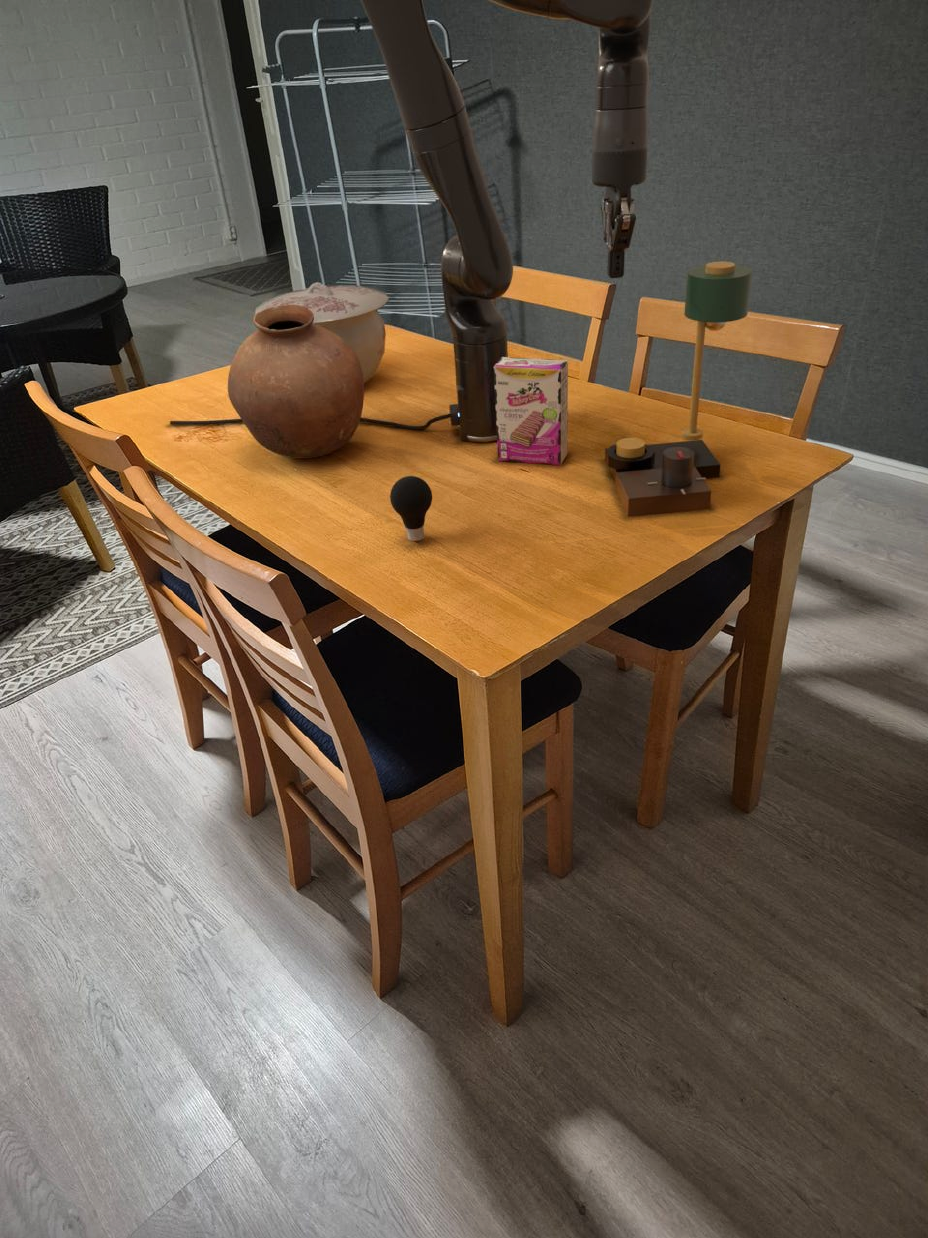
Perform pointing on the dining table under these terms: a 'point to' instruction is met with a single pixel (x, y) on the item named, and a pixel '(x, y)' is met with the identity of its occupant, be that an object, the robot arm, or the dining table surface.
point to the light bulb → (412, 504)
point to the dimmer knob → (677, 467)
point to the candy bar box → (531, 410)
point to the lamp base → (654, 459)
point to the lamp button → (630, 448)
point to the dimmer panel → (660, 493)
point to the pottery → (296, 384)
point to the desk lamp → (713, 314)
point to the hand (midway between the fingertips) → (615, 276)
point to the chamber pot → (345, 317)
